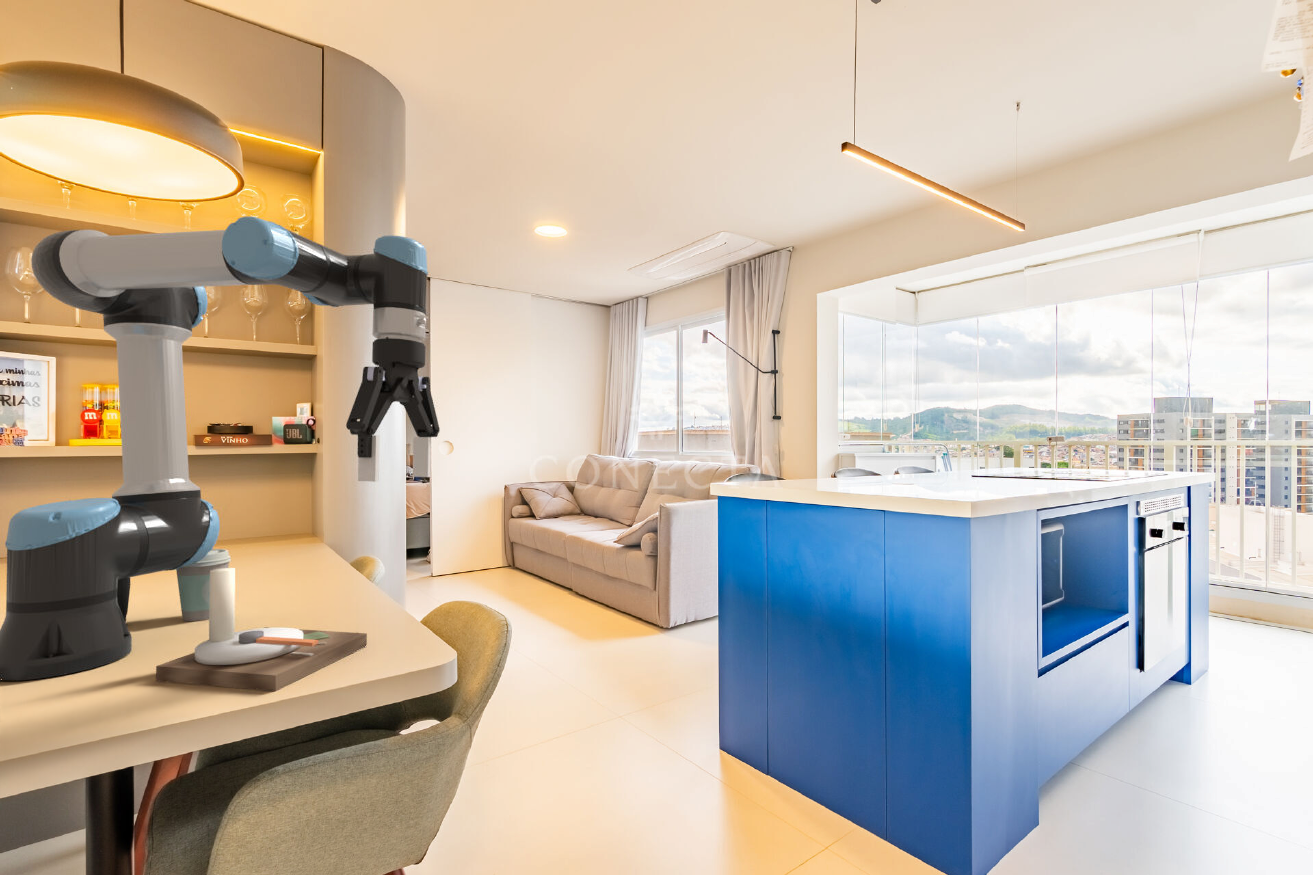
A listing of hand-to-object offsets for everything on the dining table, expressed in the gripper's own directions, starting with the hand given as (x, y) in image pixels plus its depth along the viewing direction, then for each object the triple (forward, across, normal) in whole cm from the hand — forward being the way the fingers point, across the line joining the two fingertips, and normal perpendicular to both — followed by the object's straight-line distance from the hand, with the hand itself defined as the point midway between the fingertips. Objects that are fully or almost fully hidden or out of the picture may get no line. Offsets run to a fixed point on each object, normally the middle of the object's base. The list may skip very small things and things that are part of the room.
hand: (396, 479), depth 93 cm
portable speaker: (+28, +3, +59) cm, 65 cm away
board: (+27, -7, +16) cm, 32 cm away
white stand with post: (+24, -8, +15) cm, 30 cm away
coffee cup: (+28, +12, +47) cm, 56 cm away
